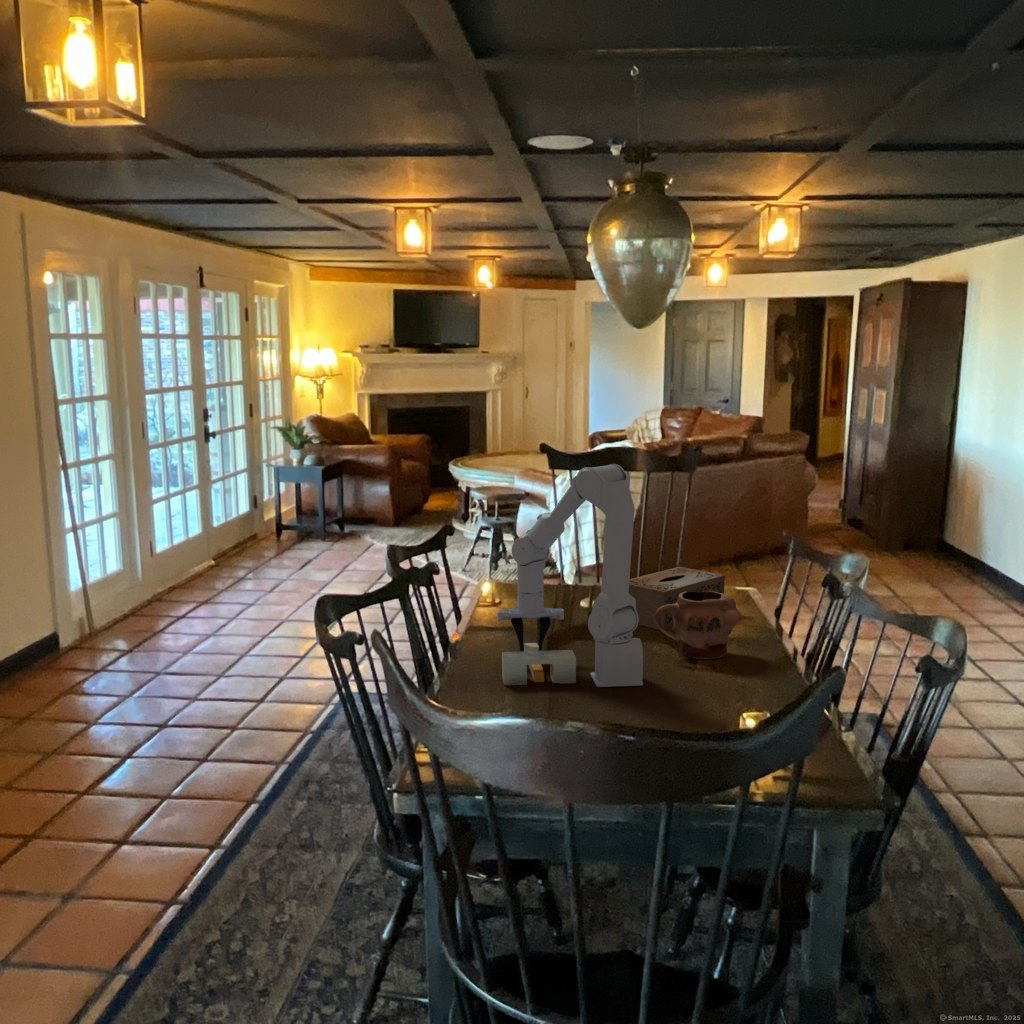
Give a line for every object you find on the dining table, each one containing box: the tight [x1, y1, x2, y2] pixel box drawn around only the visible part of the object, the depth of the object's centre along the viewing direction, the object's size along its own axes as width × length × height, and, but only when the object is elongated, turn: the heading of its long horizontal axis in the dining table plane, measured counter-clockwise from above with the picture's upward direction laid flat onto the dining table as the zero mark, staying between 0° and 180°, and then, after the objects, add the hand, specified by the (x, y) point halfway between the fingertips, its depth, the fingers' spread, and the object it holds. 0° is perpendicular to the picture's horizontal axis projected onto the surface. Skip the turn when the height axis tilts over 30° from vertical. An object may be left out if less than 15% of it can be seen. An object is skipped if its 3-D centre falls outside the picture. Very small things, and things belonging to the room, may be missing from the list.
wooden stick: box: [523, 642, 545, 683], centre depth 196 cm, size 17×3×3 cm, turn 5°
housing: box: [501, 649, 577, 686], centre depth 189 cm, size 15×5×5 cm, turn 95°
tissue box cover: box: [628, 566, 726, 631], centre depth 237 cm, size 26×14×10 cm, turn 133°
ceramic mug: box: [654, 591, 743, 660], centre depth 204 cm, size 20×12×14 cm, turn 105°
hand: (530, 651), depth 203 cm, fingers closed on wooden stick, 3 cm apart
